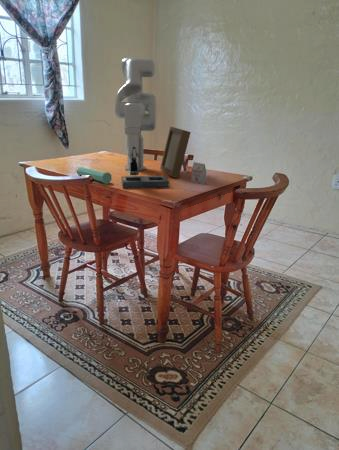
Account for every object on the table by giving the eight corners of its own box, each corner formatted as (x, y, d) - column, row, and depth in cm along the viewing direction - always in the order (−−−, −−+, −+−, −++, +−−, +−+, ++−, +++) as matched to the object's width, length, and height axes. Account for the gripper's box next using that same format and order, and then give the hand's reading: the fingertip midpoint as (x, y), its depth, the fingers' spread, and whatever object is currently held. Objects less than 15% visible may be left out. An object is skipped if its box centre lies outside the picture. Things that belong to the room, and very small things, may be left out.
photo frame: (171, 178, 190) (172, 130, 181) (160, 170, 209) (160, 126, 200) (197, 176, 194) (199, 130, 185) (183, 169, 213) (185, 126, 205)
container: (73, 174, 188) (100, 182, 171) (76, 164, 187) (103, 170, 171) (82, 177, 192) (110, 185, 176) (85, 167, 192) (113, 173, 175)
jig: (121, 182, 177) (121, 176, 176) (164, 181, 181) (164, 175, 180) (122, 188, 166) (122, 181, 165) (168, 187, 170) (169, 180, 169)
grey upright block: (195, 180, 185) (196, 161, 181) (205, 183, 181) (206, 163, 177) (190, 182, 182) (191, 162, 179) (201, 184, 178) (202, 164, 175)
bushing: (127, 173, 173) (127, 156, 170) (138, 173, 174) (138, 156, 171) (128, 175, 168) (128, 158, 165) (139, 175, 169) (139, 158, 166)
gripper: (123, 129, 171) (124, 166, 177) (126, 132, 155) (126, 173, 162) (139, 129, 172) (139, 166, 179) (143, 133, 157) (143, 173, 163)
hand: (133, 169), depth 170 cm, fingers closed on bushing, 5 cm apart
